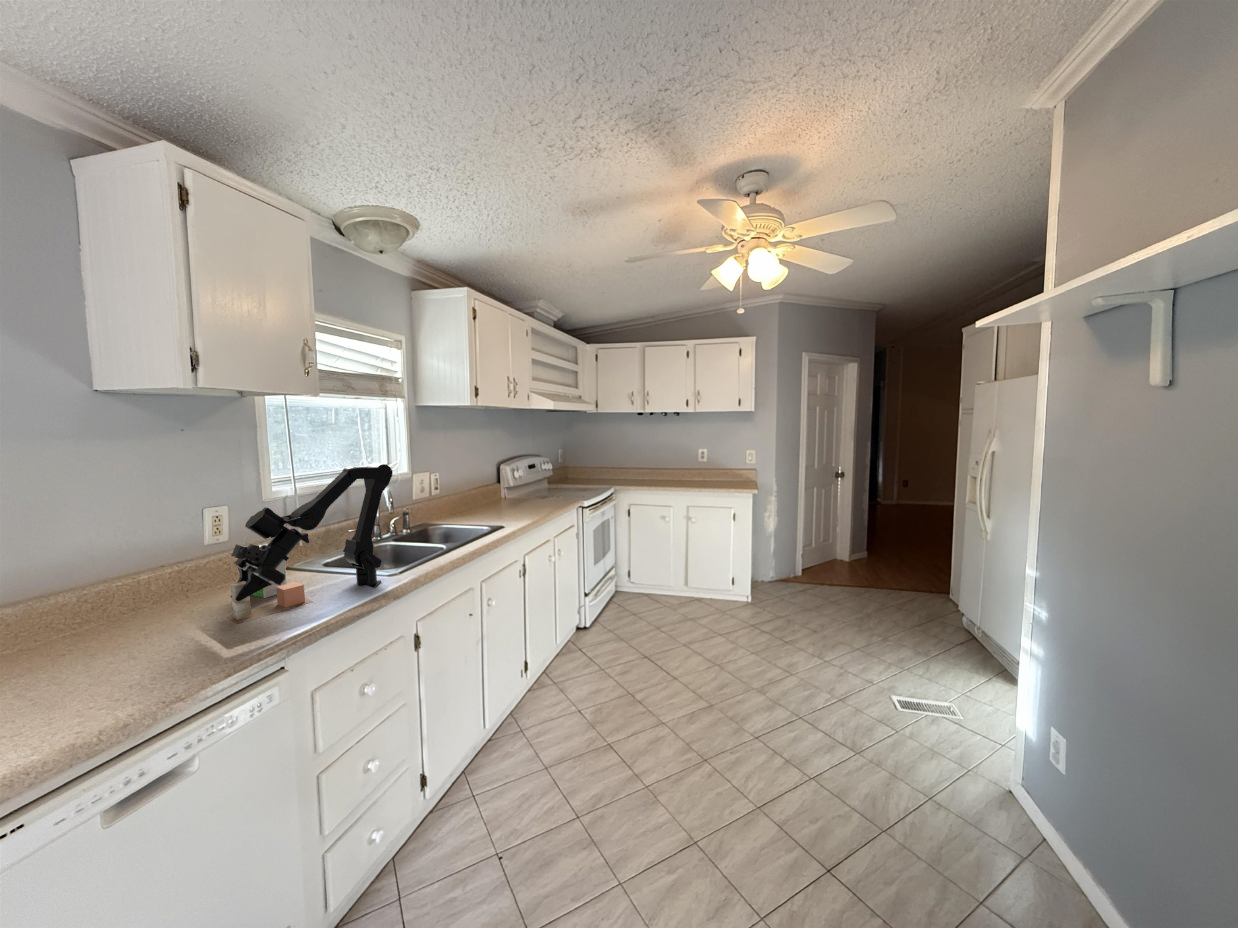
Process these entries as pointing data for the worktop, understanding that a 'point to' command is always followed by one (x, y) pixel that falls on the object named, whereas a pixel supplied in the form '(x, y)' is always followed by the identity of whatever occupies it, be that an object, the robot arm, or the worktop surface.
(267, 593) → the skincare box
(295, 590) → the cube
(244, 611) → the wooden base with post
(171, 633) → the worktop surface
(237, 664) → the worktop surface
